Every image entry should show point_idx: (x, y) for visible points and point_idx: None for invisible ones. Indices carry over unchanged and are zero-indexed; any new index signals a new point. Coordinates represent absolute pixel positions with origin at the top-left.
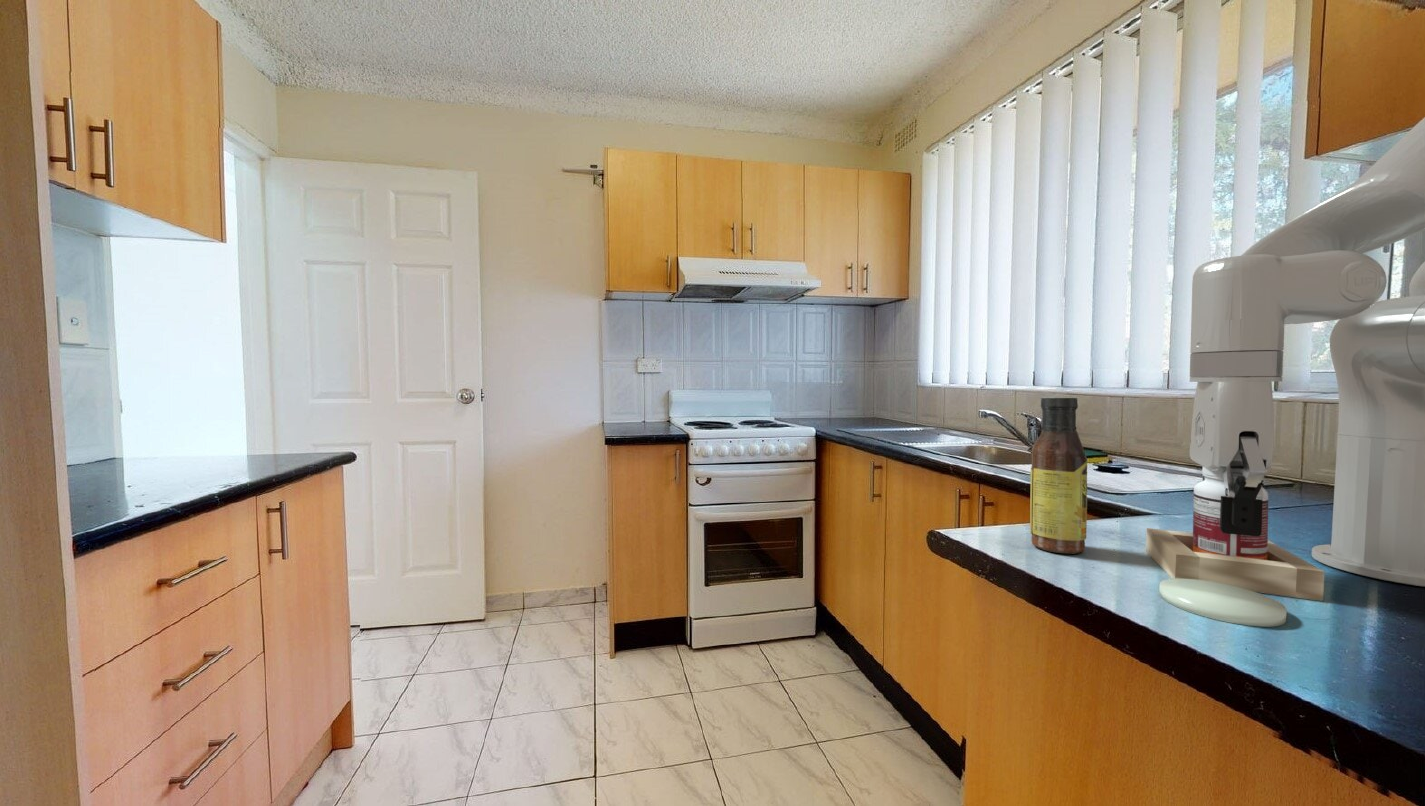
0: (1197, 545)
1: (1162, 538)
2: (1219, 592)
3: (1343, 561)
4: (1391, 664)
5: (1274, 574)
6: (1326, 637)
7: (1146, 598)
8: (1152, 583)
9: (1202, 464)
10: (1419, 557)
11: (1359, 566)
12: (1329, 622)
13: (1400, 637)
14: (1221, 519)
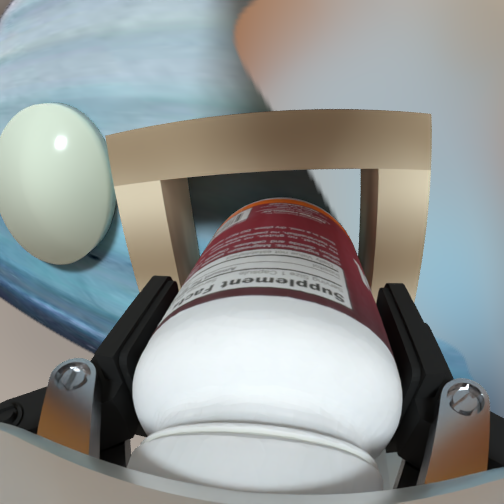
0: (254, 208)
1: (293, 123)
2: (52, 191)
3: None
4: (12, 296)
5: None
6: (33, 274)
7: (25, 88)
8: (101, 89)
9: (110, 479)
10: None
11: None
12: (85, 301)
13: (90, 346)
14: (141, 295)
